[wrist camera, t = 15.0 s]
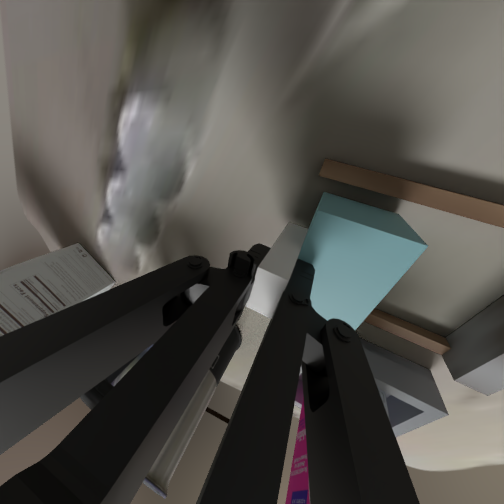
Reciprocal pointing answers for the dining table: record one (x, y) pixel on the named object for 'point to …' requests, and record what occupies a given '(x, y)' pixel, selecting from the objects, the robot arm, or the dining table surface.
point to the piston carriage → (356, 256)
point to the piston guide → (472, 332)
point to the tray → (400, 389)
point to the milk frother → (188, 421)
